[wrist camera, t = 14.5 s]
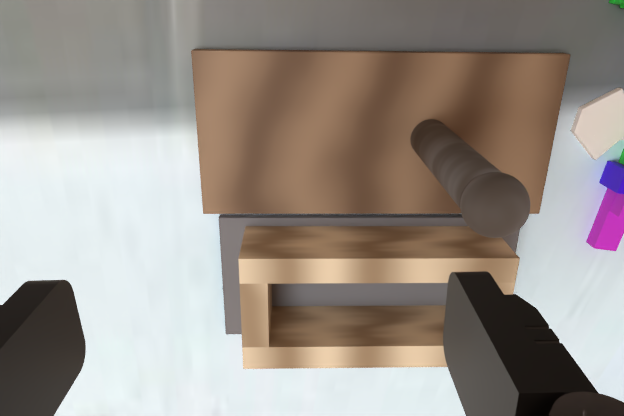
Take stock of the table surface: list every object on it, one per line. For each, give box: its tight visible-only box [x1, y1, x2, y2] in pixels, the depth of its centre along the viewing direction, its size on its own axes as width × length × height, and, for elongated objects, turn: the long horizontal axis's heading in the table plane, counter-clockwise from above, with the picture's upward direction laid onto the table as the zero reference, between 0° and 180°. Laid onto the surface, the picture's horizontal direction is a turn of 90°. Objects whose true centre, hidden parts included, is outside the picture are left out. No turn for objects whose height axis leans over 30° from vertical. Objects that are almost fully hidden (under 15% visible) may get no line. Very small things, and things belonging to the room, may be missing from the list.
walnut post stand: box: [191, 49, 570, 238], centre depth 28 cm, size 24×11×14 cm, turn 89°
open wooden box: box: [238, 226, 520, 369], centre depth 36 cm, size 18×9×5 cm, turn 89°
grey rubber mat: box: [219, 215, 520, 334], centre depth 39 cm, size 22×10×1 cm, turn 89°
